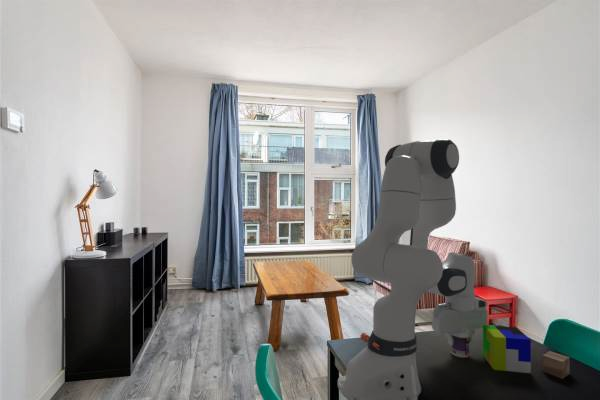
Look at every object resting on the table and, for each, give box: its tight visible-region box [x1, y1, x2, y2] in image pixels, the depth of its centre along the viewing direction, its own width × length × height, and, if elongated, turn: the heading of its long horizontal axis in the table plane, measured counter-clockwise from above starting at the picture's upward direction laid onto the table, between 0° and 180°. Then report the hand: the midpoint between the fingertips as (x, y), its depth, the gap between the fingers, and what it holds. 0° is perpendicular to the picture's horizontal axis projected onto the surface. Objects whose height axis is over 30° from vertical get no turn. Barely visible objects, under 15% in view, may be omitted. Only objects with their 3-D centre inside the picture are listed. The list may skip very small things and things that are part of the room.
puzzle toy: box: [482, 324, 532, 374], centre depth 107 cm, size 10×10×10 cm
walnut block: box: [542, 350, 571, 380], centre depth 101 cm, size 5×5×5 cm
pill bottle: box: [450, 327, 470, 359], centre depth 113 cm, size 5×5×10 cm
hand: (459, 343), depth 113 cm, fingers closed on pill bottle, 5 cm apart
